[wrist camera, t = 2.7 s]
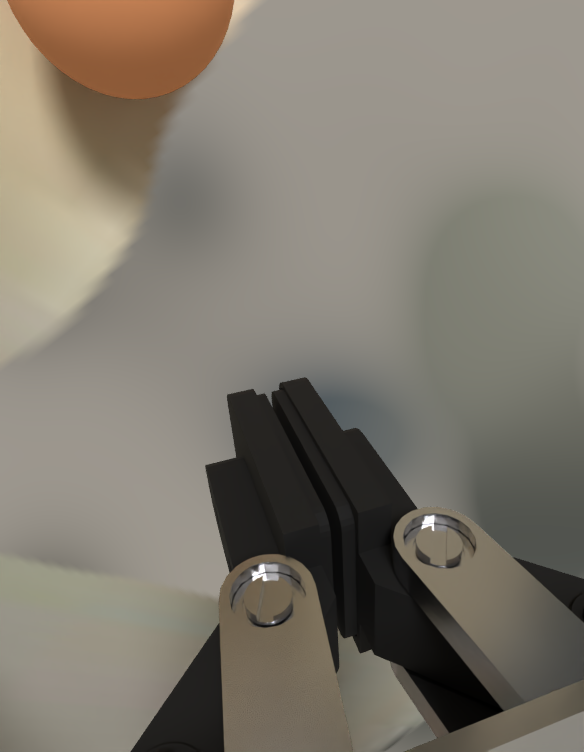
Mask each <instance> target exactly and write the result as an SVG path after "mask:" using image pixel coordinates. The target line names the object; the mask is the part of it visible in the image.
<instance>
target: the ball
mask: <svg viewBox="0 0 584 752" xmlns="http://www.w3.org/2000/svg"><path fill="white" fill-rule="evenodd" d="M7 1H8V3H9V5H10V7H11V10H12V12H13V14H14V15H15V17H16V19H17V20H18V22H19V24H20V25H21V27H22V29H23V30H24V32H25V33H26V34H27V36H28V37H29V38H30V40H31V41H32V43H33V44H34V45H35V46H36V47H37V48H38V50H39V51H40V52H41V53H42V54H43V55H44V56H45V57H46V58H47V59H48V60H49V61H50V62H51V63H52V64H53V65H55V66H56V67H57V68H58V69H59V70H60V71H62V72H63V73H65V74H66V75H67V76H69V77H70V78H72V79H73V80H75V81H76V82H78V83H80V84H82V85H84V86H86V87H87V88H90V89H92V90H95V91H97V92H100V93H102V94H106V95H110V96H114V97H118V98H126V99H147V98H153V97H159V96H162V95H165V94H168V93H171V92H173V91H175V90H177V89H179V88H181V87H183V86H184V85H186V84H187V83H189V82H190V81H191V80H193V79H194V78H196V77H197V76H198V75H199V74H200V73H201V72H202V71H203V70H204V69H205V68H206V67H207V65H208V64H209V63H210V61H211V60H212V59H213V58H214V56H215V54H216V53H217V51H218V49H219V48H220V46H221V44H222V42H223V39H224V37H225V35H226V32H227V30H228V26H229V22H230V19H231V15H232V10H233V4H234V0H7Z"/></svg>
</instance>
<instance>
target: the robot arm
mask: <svg viewBox="0 0 584 752" xmlns="http://www.w3.org/2000/svg"><path fill="white" fill-rule="evenodd" d="M227 401H228V408H229V414H230V420H231V427H232V433H233V439H234V445H235V451H236V458H233V459H229V460H225V461H221V462H217V463H213V464H209V465H206V466H205V467H206V472H207V478H208V483H209V488H210V493H211V498H212V503H213V507H214V512H215V516H216V521H217V524H218V529H219V533H220V537H221V541H222V545H223V549H224V553H225V557H226V561H227V564H228V568H229V572H230V573H229V574H228V576H227V577H226V579H225V581H224V583H223V585H222V587H221V589H220V596H219V622H220V623H219V624H218V626H217V627H216V628H215V630H214V631H213V633H212V634H211V636H210V637H209V639H208V640H207V642H206V643H205V644H204V646H203V647H202V649H201V650H200V652H199V653H198V655H197V656H196V657H195V659H194V660H193V662H192V663H191V665H190V666H189V668H188V669H187V671H186V672H185V673H184V675H183V676H182V678H181V679H180V681H179V682H178V684H177V685H176V687H175V688H174V689H173V691H172V692H171V694H170V695H169V697H168V698H167V700H166V701H165V703H164V704H163V705H162V707H161V708H160V710H159V711H158V713H157V714H156V716H155V717H154V719H153V720H152V721H151V723H150V724H149V726H148V727H147V729H146V730H145V732H144V733H143V734H142V736H141V737H140V739H139V740H138V742H137V743H136V745H135V746H134V748H133V749H132V750H131V752H354V751H353V747H352V742H351V738H350V734H349V729H348V725H347V720H346V716H345V712H344V707H343V703H342V698H341V694H340V690H339V685H338V681H337V676H336V673H337V671H338V669H339V651H338V629H339V631H340V633H341V635H342V637H343V638H347V637H350V636H353V639H354V641H355V643H356V645H357V648H358V650H359V652H360V653H363V652H366V651H368V650H371V649H372V651H373V653H374V655H377V656H379V657H381V658H384V659H386V660H388V661H390V663H391V667H392V670H393V672H394V674H395V676H396V678H397V679H398V681H399V682H400V684H401V685H402V687H403V688H404V690H405V691H406V693H407V694H408V696H409V697H410V699H411V700H412V702H413V703H414V705H415V706H416V708H417V709H418V711H419V712H420V714H421V715H422V717H423V718H424V720H425V721H426V723H427V724H428V725H429V727H430V728H431V730H432V731H433V733H434V734H435V736H436V737H437V739H434V740H432V741H429V742H427V743H424V744H422V745H419V746H417V747H414V748H412V749H410V750H407V751H405V752H584V579H582V578H578V577H575V576H572V575H569V574H565V573H562V572H559V571H556V570H553V569H550V568H546V567H543V566H540V565H536V564H533V563H530V562H527V561H524V560H520V559H517V558H514V557H512V556H511V555H509V554H508V553H507V552H506V551H505V550H504V549H503V548H502V547H501V546H500V545H499V544H497V543H496V542H495V541H494V540H493V539H492V538H491V537H490V536H489V535H487V533H485V532H484V531H483V530H482V529H481V528H480V527H479V526H478V525H477V524H476V523H475V522H473V521H472V520H470V519H469V518H468V517H466V516H465V515H463V514H460V513H458V512H456V511H453V510H451V509H446V508H440V507H424V508H420V509H417V507H416V506H415V505H414V503H413V502H412V500H411V499H410V498H409V496H408V495H407V493H406V492H405V491H404V489H403V488H402V487H401V485H400V484H399V483H398V481H397V480H396V478H395V477H394V476H393V474H392V473H391V472H390V470H389V469H388V467H387V466H386V465H385V463H384V462H383V461H382V459H381V458H380V457H379V455H378V454H377V452H376V451H375V450H374V448H373V447H372V445H371V444H370V443H369V441H368V440H367V439H366V437H365V436H364V435H363V433H362V432H361V431H360V430H359V429H357V428H353V429H350V430H345V431H343V430H342V429H341V428H340V426H339V425H338V423H337V422H336V420H335V419H334V417H333V416H332V414H331V413H330V412H329V410H328V408H327V407H326V405H325V404H324V402H323V401H322V399H321V398H320V397H319V395H318V394H317V393H316V391H315V390H314V388H313V386H312V385H311V383H310V382H309V380H308V379H307V378H300V379H296V380H291V381H287V382H282V383H280V385H279V390H278V391H273V392H272V405H273V408H272V406H271V404H270V402H269V400H268V398H267V396H266V395H265V394H261V395H256V393H255V391H254V389H251V390H246V391H241V392H237V393H233V394H228V395H227ZM337 626H338V629H337Z"/></svg>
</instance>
